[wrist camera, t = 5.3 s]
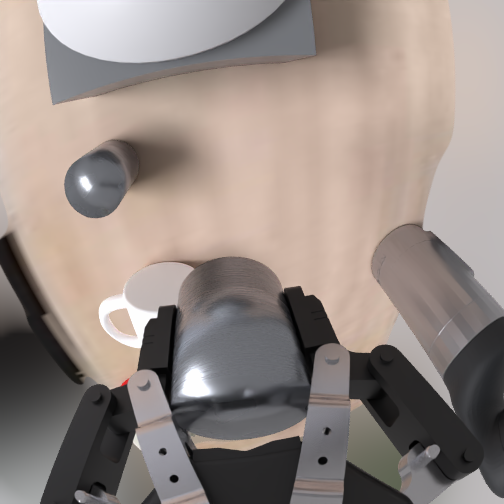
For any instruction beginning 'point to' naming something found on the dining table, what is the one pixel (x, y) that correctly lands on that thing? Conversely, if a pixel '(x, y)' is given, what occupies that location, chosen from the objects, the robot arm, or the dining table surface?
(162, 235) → the dining table surface
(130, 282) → the mug
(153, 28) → the scale
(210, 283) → the cylinder
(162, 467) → the robot arm
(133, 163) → the cylinder
